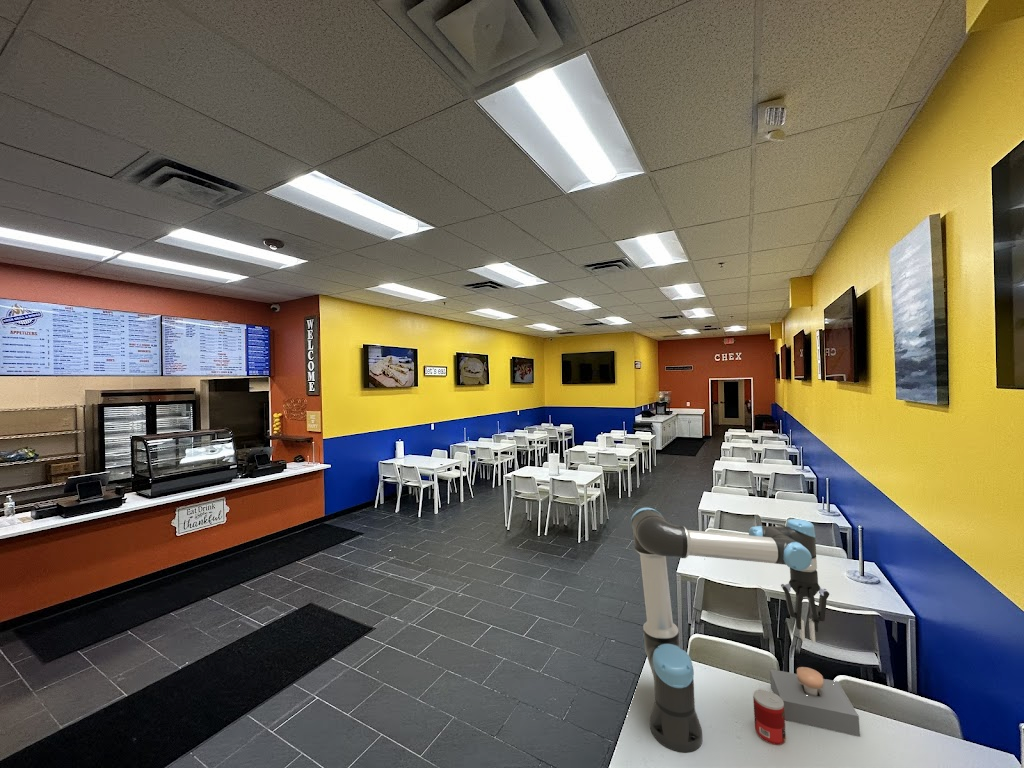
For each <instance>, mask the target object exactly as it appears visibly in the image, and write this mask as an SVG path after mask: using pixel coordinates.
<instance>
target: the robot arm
mask: <svg viewBox="0 0 1024 768" xmlns="http://www.w3.org/2000/svg"><path fill="white" fill-rule="evenodd" d="M786 521H787V522H786V525H785V526H773V525H772V526H767V525H766V526H765V525H757V526H751V527H750V528H749V530H748V535H746V534H738V533H737V534H734V533H726V532H725V533H724V532H713V531H702V530H690V529H688V528H686V527H685V526H684V525H675V524H673V523H669V522H667V520H666V518H664V516H663V514H662V513H661V512H659V511H657V510H656V509H654V508H651V507H641V508H639V509H637V510H636V511H635V512H633V514H632V516H631V519H630V529H631V530H632V532H633V543H634V550H635V551H636V552H637V553H638V554H639V555H640V556H639V559H640V567H641V576H642V586H643V587H642V588H643V595H644V604H645V614H646V615H645V616H646V622H644V623H643V626H642V628H643V630H642V631H643V635H642V646H643V649H644V652H645V655H646V658H647V660H648V661H647V662H648V663H649V666H650V667H649V668H650V670H651V674H652V676H653V687H654V703H653V707H652V710H651V712H650V716H649V717H650V718H649V721H650V722H649V726H650V731H651V734H652V735H653V736H654V738H655V739H656V740H657V741H658V742H659V743H660V744H662V745H663V746H664V747H666V748H668V749H670V750H672V751H677V752H679V753H688V752H689V753H690V752H694V751H696V750H697V749H699V748H700V747H701V746H702V744H703V729H702V725H701V723H700V719H699V717H698V714H697V711H696V708H695V707H696V705H695V702H696V701H695V683H694V674H695V672H694V665H693V662H692V659H691V656H690V655H689V654H688V653H687V651H686V650H685V649H682V648H681V643H680V642H681V641H680V633H679V628H678V626H677V625H676V624H675V623H674V621H673V613H672V601H671V594H670V593H671V592H670V585H669V575H668V573H669V572H668V565H667V558H669V557H670V558H676V559H687V558H688V557H689V556H693V557H702V558H703V557H704V558H712V559H713V558H715V559H723V560H732V561H733V560H735V561H742V562H743V561H745V562H753V563H754V562H756V563H765V564H776V565H785V566H787V567H788V568H789V574H790V577H789V578H790V579H789V581H788V583H786V584H784V583H782V584H780V587H781V588H782V590H783V592H784V596H785V603H786V607H787V611H788V615H790V617H791V618H794V619H795V627H796V629H797V630H799V638H800V640H801V642H806V636H805V635H806V634H805V621H804V619H803V617H802V610H803V601H804V598H807V600H808V606H809V610H810V611H809V613H810V616H811V618H808V627H809V639H810V640H811V642H812V643H813V644H816V633H818V632H819V623H820V622H825V620H826V611H827V610H826V609H827V599H828V598H829V596H830V592H828V590H827V589H826V588H822V587H821V586H820V584H819V579H818V578H819V577H818V576H819V575H818V574H819V573H818V571H817V569H818V565H817V564H818V561H817V546H816V545H817V544H816V543H817V542H816V537H817V536H816V530H815V526H814V523H812V522H811V521H808V520H806V519H800V518H792V519H791V518H790V519H788V520H786ZM791 589H792V590H793V591H794V592H795V603H794V604H795V605H793V601H792V597H791V593H790V592H791ZM817 594H819V599H818V608H817V607H816V606H817V605H816V602H815V601H816V600H815V596H816V595H817ZM793 606H794V607H793ZM817 609H818V611H817Z"/></svg>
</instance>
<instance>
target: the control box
mask: <svg viewBox="0 0 1024 768" xmlns="http://www.w3.org/2000/svg"><path fill="white" fill-rule="evenodd" d="M769 677H770V687H771V692H773V693H775V694H776V695H778V696H779V697H780V698H781V699H782V700H783V702H784V714H785V722H791V723H796V724H800V725H805V726H810V727H815V728H819V729H823V730H827V731H833V732H838V733H843V734H847V735H852V736H854V737H855V736H856V737H861V734H860V733H861V731H860V716H859V715H858V713H857V711H856V709H855V708H854V705H853V704H852V702H851V700H850V699H849V697H848V696H847V694H846V692H845V690H844V689H843V687H842V685H841V683H840V682H839V680H838V681H837V680H832V679H827V678H826V679H825V678H823V688H821V689H817V693H818V696H814V695H809V694H805V693H804V685H803V684H802V683H800V682H799V680H798V679H797V673H794V672H788V671H782V670H777V669H772V668H770V669H769ZM834 681H835V682H834ZM833 684H834V685H833ZM806 695H808V696H806Z"/></svg>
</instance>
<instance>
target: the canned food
mask: <svg viewBox="0 0 1024 768" xmlns="http://www.w3.org/2000/svg"><path fill="white" fill-rule="evenodd" d="M752 695H753V696H752V697H753V715H754V717H753V719H754V728H755V732H756V734H757V736H758V737H759V738H760V739H762V740H763V741H765V742H766V743H769V744H771V745H776V746H778V745H779V746H780V745H783V744H784V743H785V742H786V735H787V734H786V720H785V714H784V702H783V700H782V699H781V698H780V697H779V696H778V695H776V694H775V693H773V691H770V690H767V689H757V690H755V691H754V692H753V694H752Z"/></svg>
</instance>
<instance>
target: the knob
mask: <svg viewBox="0 0 1024 768" xmlns="http://www.w3.org/2000/svg"><path fill="white" fill-rule="evenodd" d="M796 674H797V679H798V680H799V682H800V683H802V684H803V685H804V693H805V694H809V695H814V696H818V693H817V689H821V688H823V679H824V676H823V675H822V674H821V673H820V672H819V671H817V670H816V669H813V668H811V667H806V666H799V667H797V669H796Z"/></svg>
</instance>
